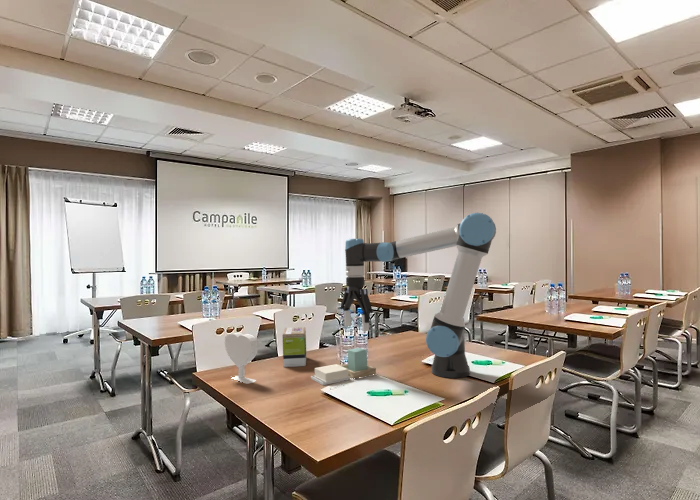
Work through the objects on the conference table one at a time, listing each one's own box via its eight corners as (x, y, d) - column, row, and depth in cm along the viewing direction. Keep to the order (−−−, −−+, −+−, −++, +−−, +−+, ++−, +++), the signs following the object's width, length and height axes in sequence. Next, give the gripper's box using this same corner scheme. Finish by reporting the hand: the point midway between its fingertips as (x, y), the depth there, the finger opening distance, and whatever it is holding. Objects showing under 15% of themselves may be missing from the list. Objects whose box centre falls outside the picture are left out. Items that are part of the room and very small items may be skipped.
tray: (375, 374, 162) (375, 368, 162) (353, 379, 156) (353, 372, 156) (360, 368, 172) (360, 362, 172) (338, 372, 166) (338, 366, 166)
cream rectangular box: (350, 379, 156) (349, 369, 156) (322, 385, 150) (322, 374, 150) (337, 373, 165) (337, 363, 165) (310, 378, 159) (310, 368, 159)
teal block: (367, 372, 164) (366, 349, 164) (355, 374, 161) (354, 352, 161) (360, 369, 168) (359, 347, 168) (348, 371, 165) (347, 349, 165)
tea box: (285, 358, 190) (284, 327, 191) (306, 357, 191) (306, 326, 191) (282, 367, 175) (282, 333, 176) (305, 366, 176) (305, 332, 176)
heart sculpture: (260, 381, 157) (259, 334, 157) (250, 384, 153) (249, 337, 153) (233, 374, 166) (233, 331, 166) (223, 378, 161) (223, 333, 162)
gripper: (332, 275, 173) (333, 325, 173) (364, 277, 152) (366, 334, 152) (347, 275, 177) (348, 323, 177) (380, 277, 156) (382, 331, 156)
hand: (356, 328), depth 164 cm, fingers open, 13 cm apart
